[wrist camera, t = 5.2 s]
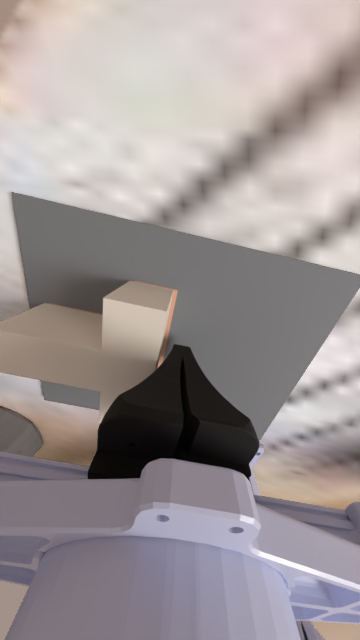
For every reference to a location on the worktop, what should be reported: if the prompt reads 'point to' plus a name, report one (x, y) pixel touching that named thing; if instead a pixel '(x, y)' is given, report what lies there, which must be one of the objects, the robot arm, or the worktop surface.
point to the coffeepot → (18, 434)
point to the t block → (90, 342)
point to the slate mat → (188, 298)
